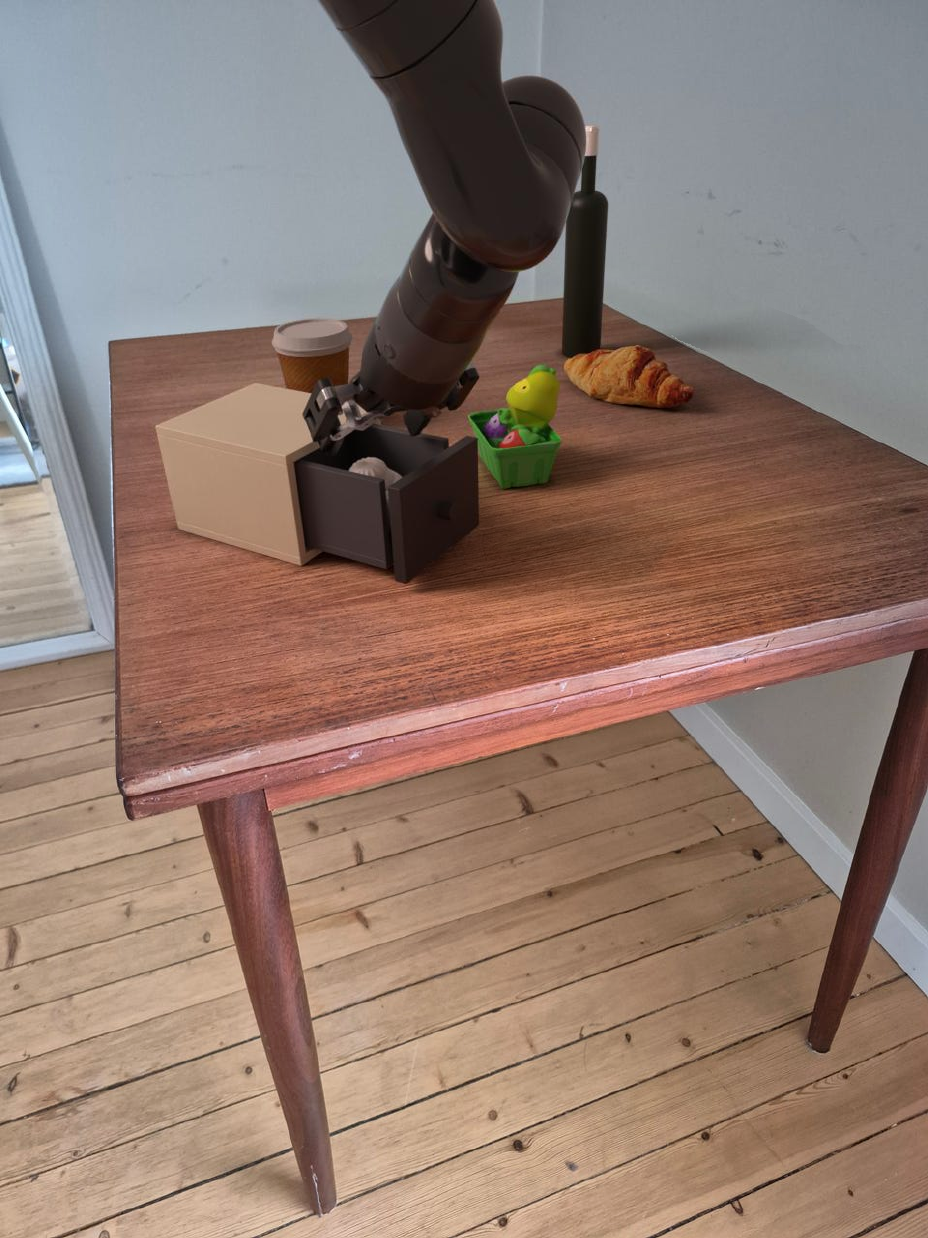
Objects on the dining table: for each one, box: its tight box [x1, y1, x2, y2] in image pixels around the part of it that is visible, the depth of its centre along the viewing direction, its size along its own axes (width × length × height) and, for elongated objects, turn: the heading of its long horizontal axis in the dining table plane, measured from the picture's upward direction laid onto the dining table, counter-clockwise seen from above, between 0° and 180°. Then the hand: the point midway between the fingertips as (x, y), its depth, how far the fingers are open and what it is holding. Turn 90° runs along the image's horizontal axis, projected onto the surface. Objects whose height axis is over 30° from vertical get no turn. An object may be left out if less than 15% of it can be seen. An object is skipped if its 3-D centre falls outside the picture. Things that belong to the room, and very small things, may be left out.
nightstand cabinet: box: [154, 382, 382, 567], centre depth 88 cm, size 16×14×11 cm
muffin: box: [349, 457, 403, 531], centre depth 81 cm, size 6×6×7 cm
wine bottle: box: [561, 125, 609, 358], centre depth 127 cm, size 6×6×30 cm
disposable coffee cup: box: [271, 317, 353, 393], centre depth 109 cm, size 10×10×12 cm
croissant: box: [563, 344, 695, 409], centre depth 117 cm, size 21×10×8 cm, turn 43°
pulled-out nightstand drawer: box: [293, 424, 480, 585], centre depth 82 cm, size 16×13×9 cm
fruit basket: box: [467, 364, 563, 490], centre depth 96 cm, size 11×9×11 cm
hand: (369, 436), depth 80 cm, fingers open, 8 cm apart
